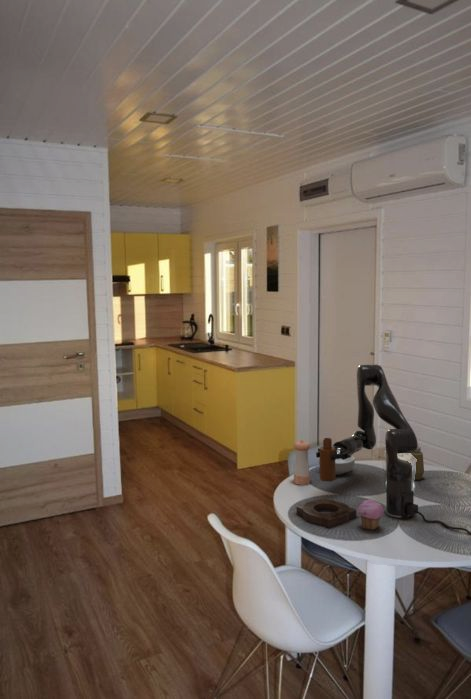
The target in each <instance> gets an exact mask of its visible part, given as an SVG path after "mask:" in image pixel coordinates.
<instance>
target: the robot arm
mask: <svg viewBox="0 0 471 699" xmlns="http://www.w3.org/2000/svg"><path fill="white" fill-rule="evenodd" d="M369 386H370V387H371V386H373V387H374V386H376V387H378V388H377V391H376V392H375V394H374V396H373V398H372V402H371V400H370V399H369V397H368V396H367V393H366V387H369ZM356 391H357V404H358V407H357V408H358V409H357V410H358V411H357V427H358V428H359V430H356V431H354V433H353V434H352V435H351V436H350V437H346V438H342V439H340V440H338V441H336V442H334V444H333V445H332V447H334V448H335V454H333V455H331V460H332V461H334V460H336V459H342V460H344V459H347V458H350V457H351V456H353V455H354V454H355V453H358V452H359V451H361V450H362V449H366V450H373V449H374V448H375V447H376V444H377V435H376V431H375V427H374V426H375V425H374V421H375V412H376V415H377V416H378V418H380V419H381V420H382V421H383V422H385V423H386V424H388V425H389V426H391V427H392V428H389V429H387V431H386V433H385V439H384V440H385V464H386V479H385V480H386V485H385V486H386V488H385V489H386V490H385V491H386V492H385V503H386V504H385V514H386V515H387V516H388V517H390V518H395V519H401V520H406V519H408V518H411V517H412V516H415V515H417V514H418V515H420V516H421V517H422V520H423V521H424V522H426V523H431V524H433V523H438V524H442V525H443V526H444V527H446V528H448V529H451V530H459V531H461V530H462V531H464V532H466V533H467V534H469V535H470V536H471V531H470V530H468V529H467V528H464V527H459V526H458V527H456V526H450V525H448V524H446V523H445V522H444V521H441V520H429V519H426V518H425V515H424V514H423V513H421V512H420V511H419V504H416V503H414V498H415V497H414V493H415V492H414V490H412V480H413V479H412V465H411V463H409V462H408V461H407V460H404V459H401V458H400V457H398V454H408V453H412V452H414V451H416V449H417V443H418V438H417V436H416V433H415V431H414V429H413V428H412V426H411V425H410V423H409V422H408V420H407V418H406V417H405V415H404V414H403V411H402V410H401V407H400V405H399V403H398V401H397V399H396V397H395V395H394V394H393V391H392V389H391V387H390V385H389V383H388V380H387V377H386V374H385V371H384V369H383V367H382V365H379V364H360V365H359V366H358V367H357V369H356ZM321 447H323V445H322V446H321ZM315 456H316V458H317V459H319V457H320V447H318V448H317V452H315Z"/></svg>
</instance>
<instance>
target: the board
mask: <svg viewBox="0 0 471 699" xmlns="http://www.w3.org/2000/svg"><path fill="white" fill-rule="evenodd" d="M296 515H298V516H300V517H302V518H303V519H304V520H305V521H306V522H309V523H311V524H315V525H319V526H324V527H326V528H329V529H331V528H333V527H335V526H339V525H342V524H345V523H348V522H349V521H351V520H353V519H357V509H355V508H353V507H350V506H349V505H348V504H347V503H345V502H342V501H339V500H335V499H328V498H327V497H320V498H317V499H314V500H310V501H307V502H305V503H303V504H300V505H298V506H296Z"/></svg>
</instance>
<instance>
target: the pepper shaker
mask: <svg viewBox="0 0 471 699" xmlns="http://www.w3.org/2000/svg"><path fill="white" fill-rule="evenodd" d="M310 447H311V446H310V443H309V442H307V441H304V440H303V439H300V440H299V441H297V442H294V444H293V448H294V450H295V460H294V473H293V483H294V484H296V485H299V486H300V485H301V486H303V485H304V486H305V485H309V484H310V483H311V473H310V463H309V449H310Z"/></svg>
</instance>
